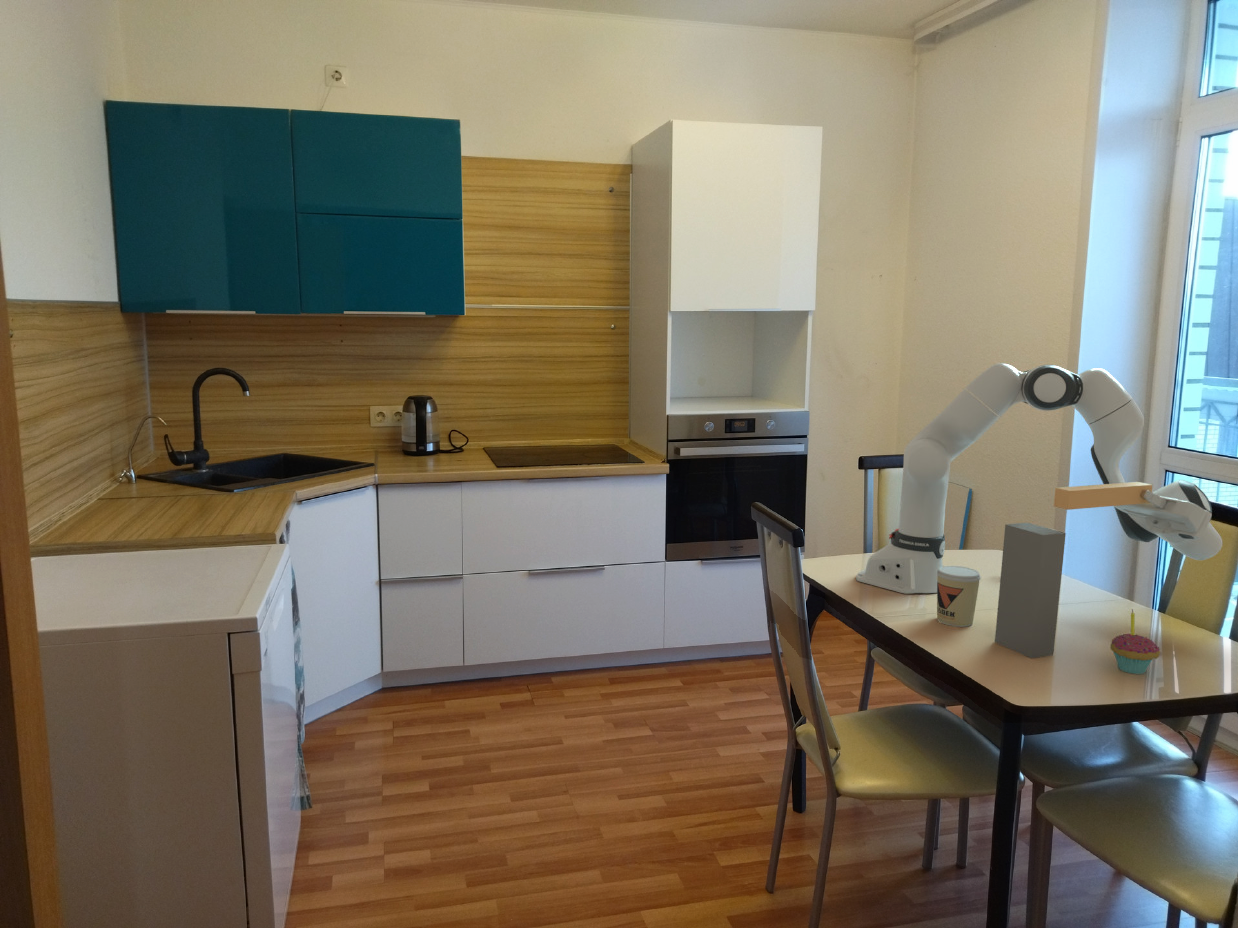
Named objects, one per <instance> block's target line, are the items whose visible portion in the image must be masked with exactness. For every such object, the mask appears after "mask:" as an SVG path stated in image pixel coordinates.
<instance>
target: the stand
mask: <svg viewBox="0 0 1238 928" xmlns="http://www.w3.org/2000/svg"><path fill="white" fill-rule="evenodd" d="M1066 535H1067V534H1066V532H1063V531H1059V530H1056V529H1053V528H1048V527H1045V526H1041V525H1037V524H1034V523H1031V522H1019V523H1018V522H1017V523H1007V524H1006V523H1005V525H1004V537H1003V545H1002V547H1003V548H1002V557H1001V571H1000V578H999V579H1000V581H999V591H998V602H997V612H996V613H997V614H996V625H995V634H994V635H995V636H994V643H996V644H999V645H1001V646H1003V647H1005V648H1007V649H1010V650H1011V651H1013V652H1017V653H1018V654H1020V655H1023V656H1025V657H1027V658H1030V659H1035V658H1037V659H1038V658H1042V657H1043V658H1044V657H1050V656H1054V653H1055V652H1054V651H1055V644H1056V643H1055V642H1056V634H1057V633H1056V632H1057V624H1058V623H1057V622H1058V612H1059V604H1060V594H1061V583H1062V575H1063V565H1064V564H1063V562H1064V554H1065V544H1066Z"/></svg>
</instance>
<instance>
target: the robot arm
mask: <svg viewBox="0 0 1238 928" xmlns="http://www.w3.org/2000/svg"><path fill="white" fill-rule="evenodd" d="M1019 403H1025V404H1026V405H1029V406H1030V407H1032V408H1033V409H1036V410H1039V411H1044V412H1047V411H1055V410H1059V409H1063V408H1065V407H1066V408H1067V407H1069V406H1070V407H1073V408H1074V409H1075V410H1076V411H1077V412H1078V413H1079V414H1080V415H1081V417H1082V418H1083V419H1084V421H1085V423H1086V424H1087V425H1088V426H1089V428H1090V430H1091V432H1092V436H1093V444H1092V446H1091V447H1090V454H1091V457H1092V462H1093V464H1094V466H1095V469H1096V471H1097V473H1098V476H1099V477H1100V480H1101V482H1102V484H1115V483H1126V480H1125V478H1124V477H1123V474H1122V472H1121V469H1120V462H1121V459H1122V457H1123V456H1124V455H1125V454H1126V453H1127V451H1129V449H1130V448H1131V447H1132V446H1133V444H1134V443H1135V442H1136V441H1137V439H1139V437H1140V436H1141V434H1142V432H1143V430H1144V426H1145V416H1144V414H1143V413H1142V411H1141V408H1140V407H1139V406H1138V404H1137V402H1136V401H1135V400H1134V398H1133V397H1132V396H1131V394H1130V393H1129V391H1127V390H1126V388H1125V387H1124V386H1123V385H1122V384H1121V382H1119V380H1117V378H1115V377H1114V376H1113V375H1112V374H1111V373H1110V372H1109V371H1107V370H1105V369H1104V368H1100V367H1099V368H1098V367H1097V368H1094V367H1093V368H1090V369H1086V370H1084V371H1083V372H1080V373H1078V374H1077V373H1074V372H1072V371H1070V370H1067V369H1065V368H1062V367H1061V366H1058V365H1054V364H1043V365H1039V366H1036V367H1033V368H1031V369H1028V370H1025V371H1023V372H1022V371H1020V370H1018V369H1017V368H1015V367H1014V366H1013V365H1010V364H1009V363H1008V364H1007V363H1005V362H998V363H995V364H993V365H991V366H990V367H988V368H987V369H985V371H983V372H981V373H980V374H979V375H977V377H975V378H974V379H973V380H972V381H971V382H970V383H969V384H968V385H966V387H965V388H963V390H962V391H961V392H959V394H958V395H957V396H956V397H954V399H953V400H952V401H951V402H950V403H949V404H948V405H947V406H946V407H945V408H944V409H943V410H942V411H941V412H940V413H939V414H938V415H937V416H936V417H934V419H932V420H931V421H930V422H929V423H928V424H927V425H926V426H925V427H924V428H923V429H922V430H921V431H920V432H918V433H917V434H916V435H915V436H914V437H913V438H912V439H911V440H910V441H909V442H908V444H907V445H906V446H905V448H904V450H903V469H902V470H903V471H902V481H901V493H900V494H901V496H900V504H899V505H900V506H899V522H898V527H897V528H896V529H895V530H894V531H893V532H891V533H890V534H888V536H889V537H888V539H890V543H889V544H887V545H886V546H883V548H880V549H879V550H877V551H876V552H874V553H872V554H871V555H870V556H869V558H868V560H867V562H866V564H865V565H866V566H865V569H863V570H860V571H859V572H858V573H857V574H856V577H855V578H856V581H857V582H860V583H864V584H866V585H867V584H868V585H871V586H874V587H878V588H883V589H886V590H889V591H894V592H898V593H900V594H905V595H909V594H937V576H938V575H937V571H938V569H939V568H940V567H943V565H944V564H943V557H944V554H945V547H946V541H945V539H946V536H945V532H944V528H945V516H946V505H947V499H948V497H947V496H948V490H949V489H948V488H949V483H950V482H949V481H950V472H951V463H952V462H953V461H954V460H955V459H956V458H957V457H958V456H960V455H961V454H962V453H963V452H964V451H965V450H966V449H968V448H969V447H971V446H972V445H973V444H975V443H976V442H977V441H978V440H979V439H980V438H981V437H983V435H984V434H985V433H986V432H987V431H988V430H989V429H990V428H992V426H993V425H994V424H996V423H997V421H998V420H999V419H1000V418H1002V416H1003V415H1004V414H1005V413H1006V412H1007V411H1008V410H1009V409H1010V408H1012V407H1013V406H1014V405H1016V404H1019ZM1140 497H1141V498H1142V499H1144V500H1147V501H1149V502H1150V503H1143V504H1131V505H1119V506H1113V508H1114V509H1115V510H1114V511H1115V513H1116V516H1117V519H1118V521H1119V524H1120V526H1121V528H1122V530H1123V532H1124V533H1125V534H1126V536H1127V537H1128V538H1129V539H1131V540H1134V541H1137V542H1143V543H1150V542H1152V541H1154V540H1155V539H1157V538H1160V539H1162V540H1163V541H1165V542H1167V543H1168V544H1169V545H1170V546H1171V547H1172V548H1174V550H1176V551H1177V552H1179V553H1180V554H1182V555H1184V556H1186V557H1188V558H1190V559H1192V560H1196V561H1205V560H1208V559H1210V558H1212V557H1215V556H1216V555H1218V553H1219V552H1220V551H1221V550H1222V547H1223V545H1224V544H1223V543H1224V542H1223V539H1222V537H1221V535H1220V534H1219V532H1218V531H1217V530H1216V529H1215V528H1214V526H1213V524H1212V522H1211V520H1212V515H1213V514H1212V513H1213V508H1212V504H1211V502H1210V499H1209V498H1208V496H1207V495H1206V493H1205V492H1204V491H1202V490H1201V488H1199V487H1198V486H1197V485H1196V484H1195V483H1193V482H1191V481H1188V480H1185V479H1178V480H1176V481H1173V482H1171V483H1169V484H1166V485H1164V486H1162V487H1160V488H1158V489H1157V490H1155V491H1152V492H1151V491H1147V490H1142V493H1141V494H1140Z"/></svg>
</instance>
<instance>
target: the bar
mask: <svg viewBox="0 0 1238 928" xmlns="http://www.w3.org/2000/svg"><path fill="white" fill-rule="evenodd" d="M1054 490H1055V491H1054V500H1053V501H1054V502H1053V507H1055V508H1059V509H1064V510H1069V511H1071V510H1080V509H1081V510H1082V509H1092V508H1106V507H1114V506H1119V505H1131V504H1143V503H1150V502H1149V501H1147V500H1144V499H1142V498H1141V497H1140V494H1141V493H1142V490H1147V491H1151V492H1153V484H1151V483H1147V482H1146V483H1145V482H1140V481H1131V482H1129V481H1128V482H1125V483H1115V484H1103V483H1102V484H1091V485H1090V484H1089V485H1077V486H1076V485H1075V486H1074V485H1073V486H1064V487H1063V486H1062V487H1055V489H1054Z"/></svg>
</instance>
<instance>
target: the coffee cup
mask: <svg viewBox="0 0 1238 928" xmlns="http://www.w3.org/2000/svg"><path fill="white" fill-rule="evenodd" d="M937 575H938V576H937V593H936V619H937V622H939V623H941V624H944V625H946V626H950V627H958V628H959V627H961V628H964V627H971V626H972V625H973V623H974V617H975V611H976V605H977V600H978V594H979V587H980V580H981V577H982V576H981V575H980V572H979V571H978V570H977V569H973V568H970V567H965V566H958V565H944V566H943V567H940V568H939V569H938V571H937Z"/></svg>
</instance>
